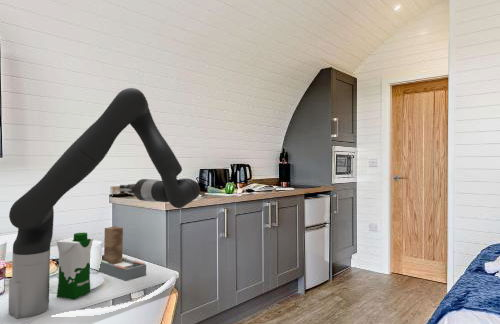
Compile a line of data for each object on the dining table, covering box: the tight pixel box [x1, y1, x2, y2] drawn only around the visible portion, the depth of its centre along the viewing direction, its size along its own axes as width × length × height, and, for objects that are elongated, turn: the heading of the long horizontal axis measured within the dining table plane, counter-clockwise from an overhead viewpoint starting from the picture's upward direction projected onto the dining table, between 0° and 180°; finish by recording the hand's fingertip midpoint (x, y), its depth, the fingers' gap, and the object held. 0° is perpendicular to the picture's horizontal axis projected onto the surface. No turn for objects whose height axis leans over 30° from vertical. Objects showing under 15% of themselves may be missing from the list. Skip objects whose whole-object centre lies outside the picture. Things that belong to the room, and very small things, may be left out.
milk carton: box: [56, 232, 94, 301], centre depth 114 cm, size 9×9×20 cm
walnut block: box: [103, 226, 124, 265], centre depth 141 cm, size 5×5×14 cm
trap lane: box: [98, 254, 147, 282], centre depth 140 cm, size 9×26×4 cm, turn 53°
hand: (121, 187), depth 130 cm, fingers closed
